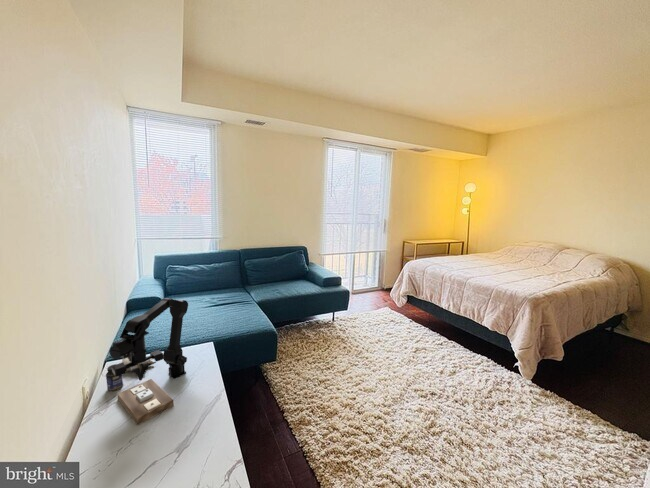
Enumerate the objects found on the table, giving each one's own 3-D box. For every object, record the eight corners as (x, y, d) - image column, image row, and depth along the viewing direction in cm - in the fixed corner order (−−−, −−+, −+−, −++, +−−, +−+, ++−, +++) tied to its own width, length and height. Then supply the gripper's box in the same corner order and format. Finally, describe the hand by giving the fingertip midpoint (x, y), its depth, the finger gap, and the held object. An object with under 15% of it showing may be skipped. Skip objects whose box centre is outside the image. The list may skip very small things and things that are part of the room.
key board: (151, 384, 139) (151, 378, 139) (173, 405, 125) (173, 399, 124) (118, 399, 128) (117, 393, 128) (137, 425, 114) (137, 418, 113)
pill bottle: (114, 392, 133) (112, 371, 132) (104, 391, 134) (101, 369, 133) (126, 384, 139) (124, 364, 138) (116, 383, 140) (113, 362, 139)
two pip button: (142, 390, 135) (142, 383, 134) (146, 394, 132) (146, 388, 131) (130, 395, 131) (130, 389, 131) (134, 400, 128) (133, 393, 127)
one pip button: (156, 404, 125) (156, 398, 125) (161, 409, 122) (160, 403, 122) (144, 411, 121) (143, 404, 121) (148, 416, 118) (147, 409, 118)
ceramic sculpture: (129, 350, 155) (156, 351, 155) (130, 364, 156) (157, 366, 157) (115, 360, 145) (144, 362, 145) (116, 376, 146) (145, 377, 146)
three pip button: (149, 394, 130) (148, 388, 129) (153, 399, 127) (153, 392, 126) (136, 400, 126) (136, 393, 125) (141, 405, 123) (140, 398, 122)
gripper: (154, 334, 137) (156, 364, 139) (106, 349, 123) (110, 382, 125) (163, 342, 129) (165, 373, 132) (114, 358, 115) (117, 393, 117)
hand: (140, 380), depth 126 cm, fingers closed
